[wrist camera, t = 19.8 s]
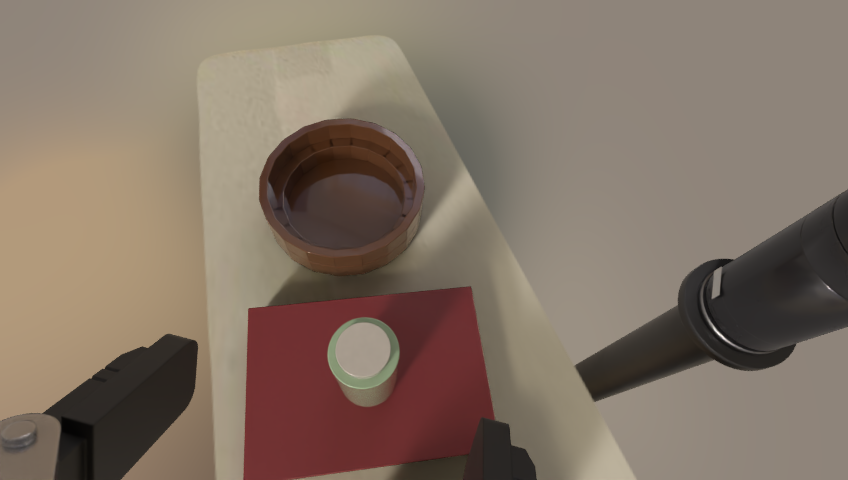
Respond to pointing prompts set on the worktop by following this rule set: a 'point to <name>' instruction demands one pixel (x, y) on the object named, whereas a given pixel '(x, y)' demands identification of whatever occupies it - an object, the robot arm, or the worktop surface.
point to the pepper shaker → (365, 360)
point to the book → (345, 421)
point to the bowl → (342, 196)
